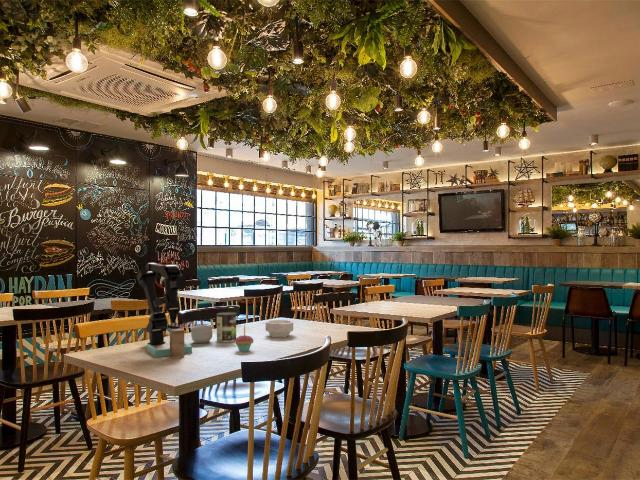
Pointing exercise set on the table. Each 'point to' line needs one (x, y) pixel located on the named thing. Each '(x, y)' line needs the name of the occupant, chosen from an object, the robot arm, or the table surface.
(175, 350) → the handle block
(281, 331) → the paper bowls
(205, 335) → the teacup
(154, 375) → the table surface
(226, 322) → the coffee can
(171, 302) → the robot arm
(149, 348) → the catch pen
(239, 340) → the cupcake
